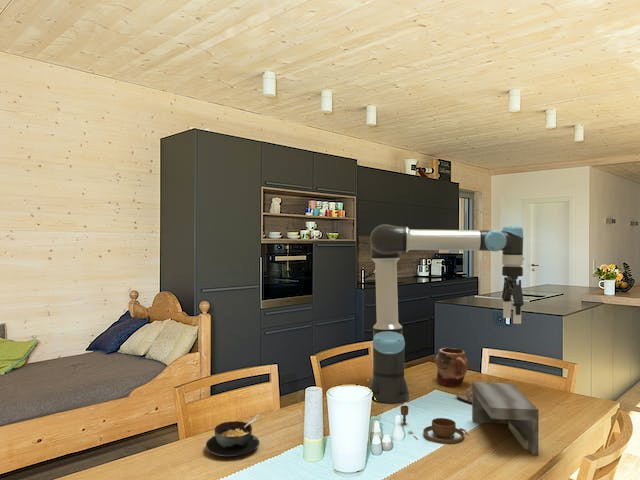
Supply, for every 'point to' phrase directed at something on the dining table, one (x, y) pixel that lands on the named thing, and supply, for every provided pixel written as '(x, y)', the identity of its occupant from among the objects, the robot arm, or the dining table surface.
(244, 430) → the soup bowl
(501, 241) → the robot arm
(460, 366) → the decorative planter
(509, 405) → the shelf
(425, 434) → the place setting
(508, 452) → the dining table surface
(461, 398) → the shell
